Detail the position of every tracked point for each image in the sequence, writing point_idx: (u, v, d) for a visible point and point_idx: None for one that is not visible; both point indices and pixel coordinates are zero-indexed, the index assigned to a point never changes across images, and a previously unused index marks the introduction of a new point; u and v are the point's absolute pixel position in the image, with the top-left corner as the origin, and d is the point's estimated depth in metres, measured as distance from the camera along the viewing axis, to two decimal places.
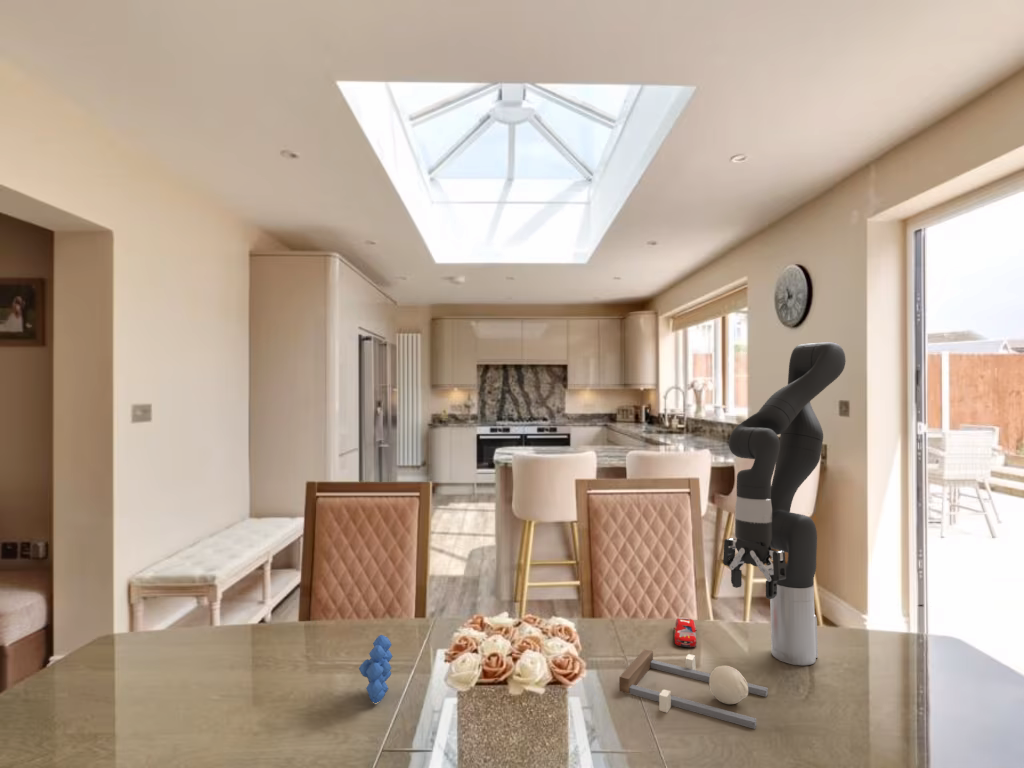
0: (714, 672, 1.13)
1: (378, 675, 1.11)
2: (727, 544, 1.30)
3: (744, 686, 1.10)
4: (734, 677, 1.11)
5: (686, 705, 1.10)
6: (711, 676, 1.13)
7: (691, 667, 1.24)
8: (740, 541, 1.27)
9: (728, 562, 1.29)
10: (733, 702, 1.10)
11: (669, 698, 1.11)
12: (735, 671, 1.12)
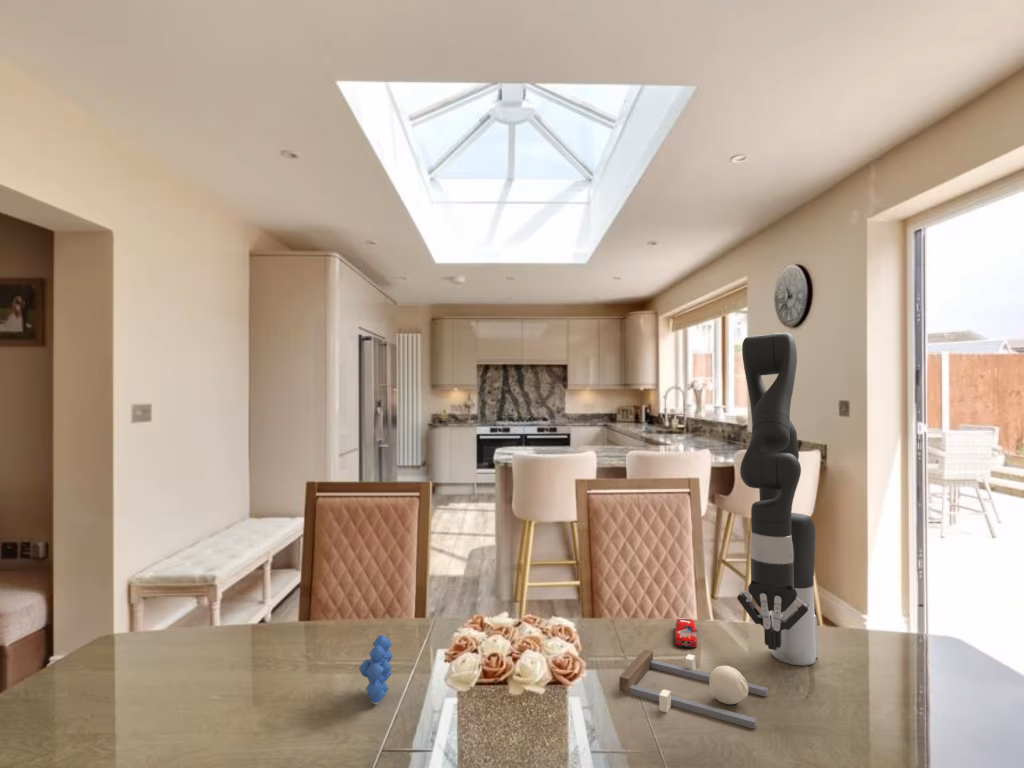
0: (714, 672, 1.13)
1: (378, 675, 1.11)
2: (743, 599, 1.10)
3: (744, 686, 1.10)
4: (734, 677, 1.11)
5: (686, 705, 1.10)
6: (711, 676, 1.13)
7: (691, 667, 1.24)
8: (757, 585, 1.09)
9: (759, 618, 1.09)
10: (733, 702, 1.10)
11: (669, 698, 1.11)
12: (735, 671, 1.12)
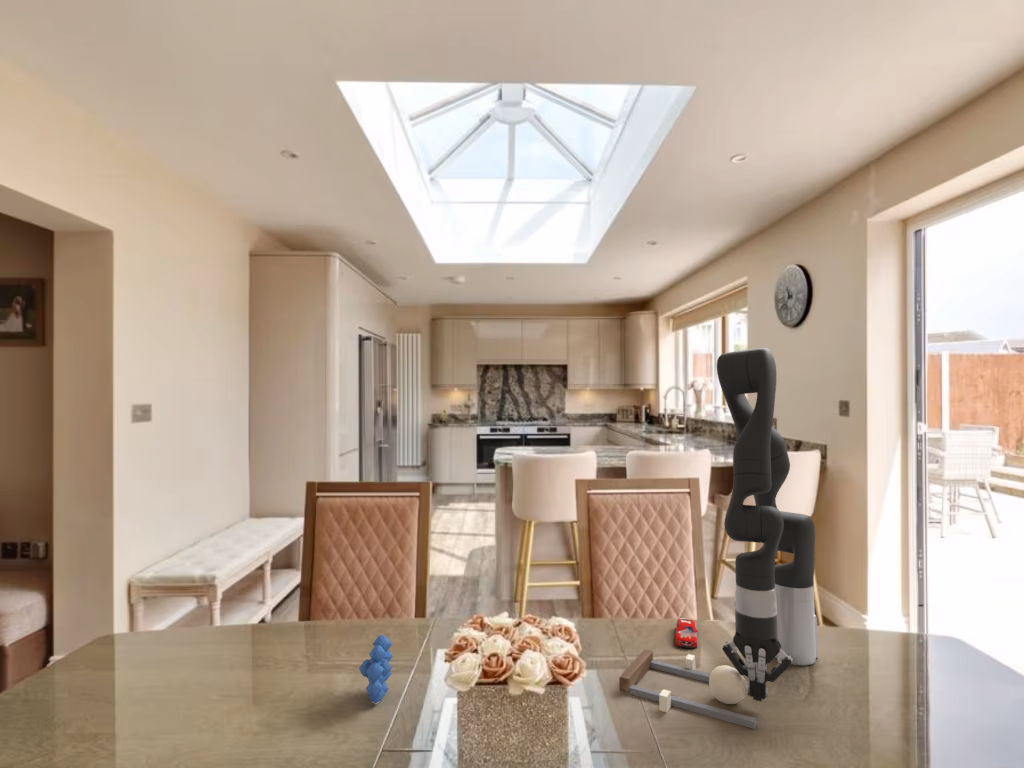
0: (714, 672, 1.13)
1: (378, 675, 1.11)
2: (728, 651, 1.12)
3: (744, 686, 1.10)
4: (734, 677, 1.11)
5: (686, 705, 1.10)
6: (711, 676, 1.13)
7: (691, 667, 1.24)
8: (741, 637, 1.11)
9: (744, 669, 1.10)
10: (733, 702, 1.10)
11: (669, 698, 1.11)
12: (735, 671, 1.12)
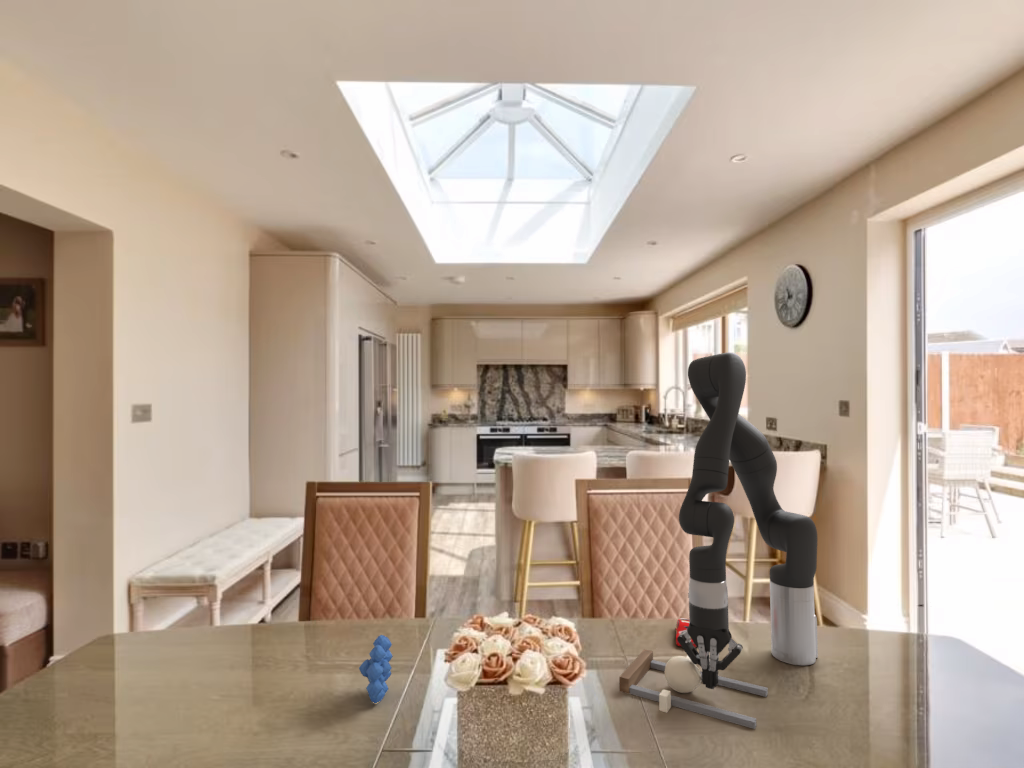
0: (669, 663, 1.17)
1: (378, 675, 1.11)
2: (682, 641, 1.16)
3: (698, 675, 1.15)
4: (688, 667, 1.15)
5: (686, 705, 1.10)
6: (666, 667, 1.17)
7: None
8: (694, 627, 1.15)
9: (697, 658, 1.15)
10: (687, 691, 1.15)
11: (669, 698, 1.11)
12: (689, 661, 1.17)
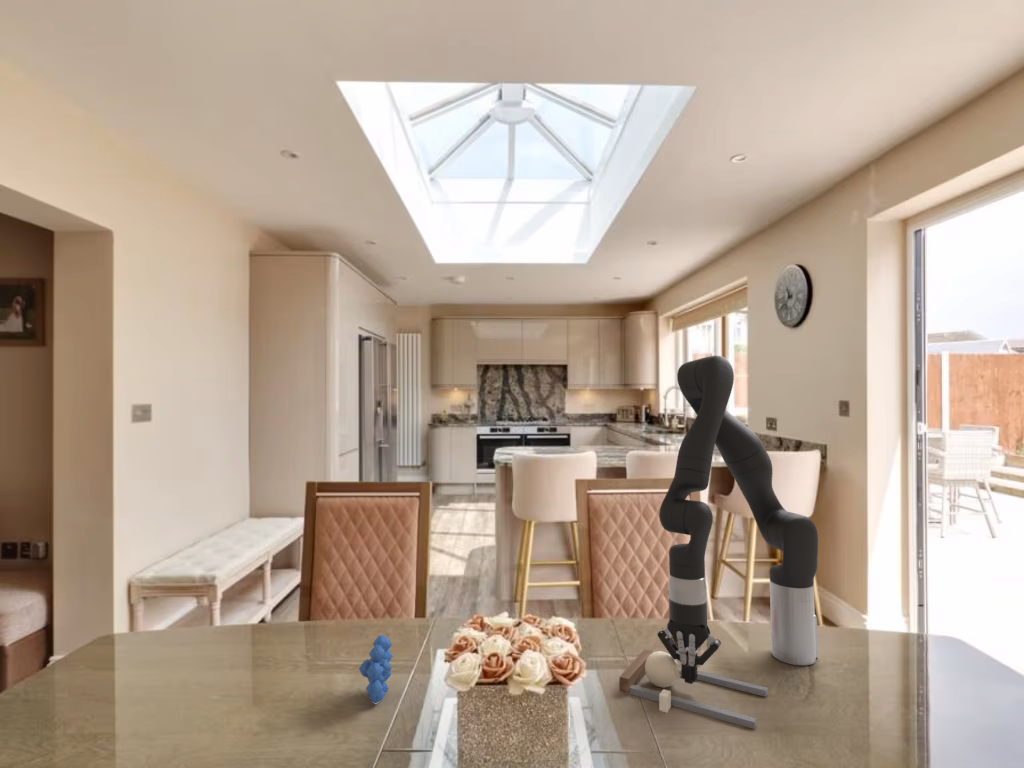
0: (649, 658, 1.19)
1: (378, 675, 1.11)
2: (663, 636, 1.19)
3: (677, 669, 1.17)
4: (668, 662, 1.17)
5: (686, 705, 1.10)
6: (647, 662, 1.19)
7: None
8: (674, 623, 1.18)
9: (676, 653, 1.17)
10: (667, 685, 1.17)
11: (669, 698, 1.11)
12: (669, 656, 1.19)
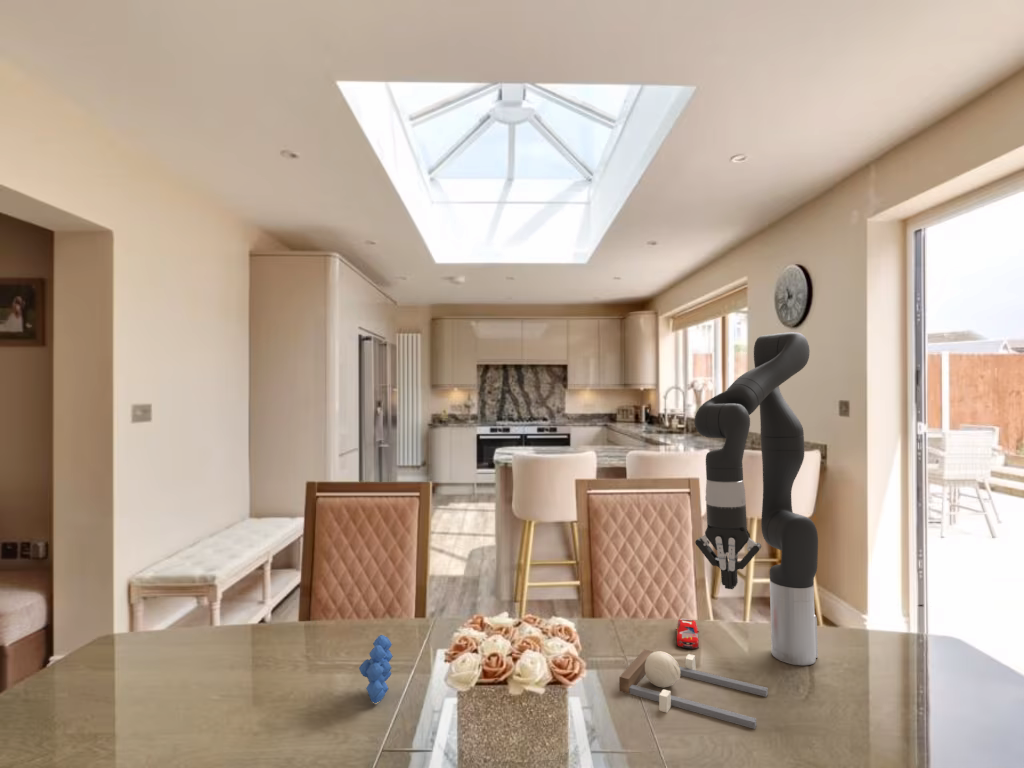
0: (649, 658, 1.19)
1: (378, 675, 1.11)
2: (701, 544, 1.17)
3: (677, 669, 1.17)
4: (667, 662, 1.18)
5: (686, 705, 1.10)
6: (647, 662, 1.20)
7: (691, 667, 1.24)
8: (712, 529, 1.15)
9: (716, 560, 1.15)
10: (667, 685, 1.17)
11: (669, 698, 1.11)
12: (668, 656, 1.19)
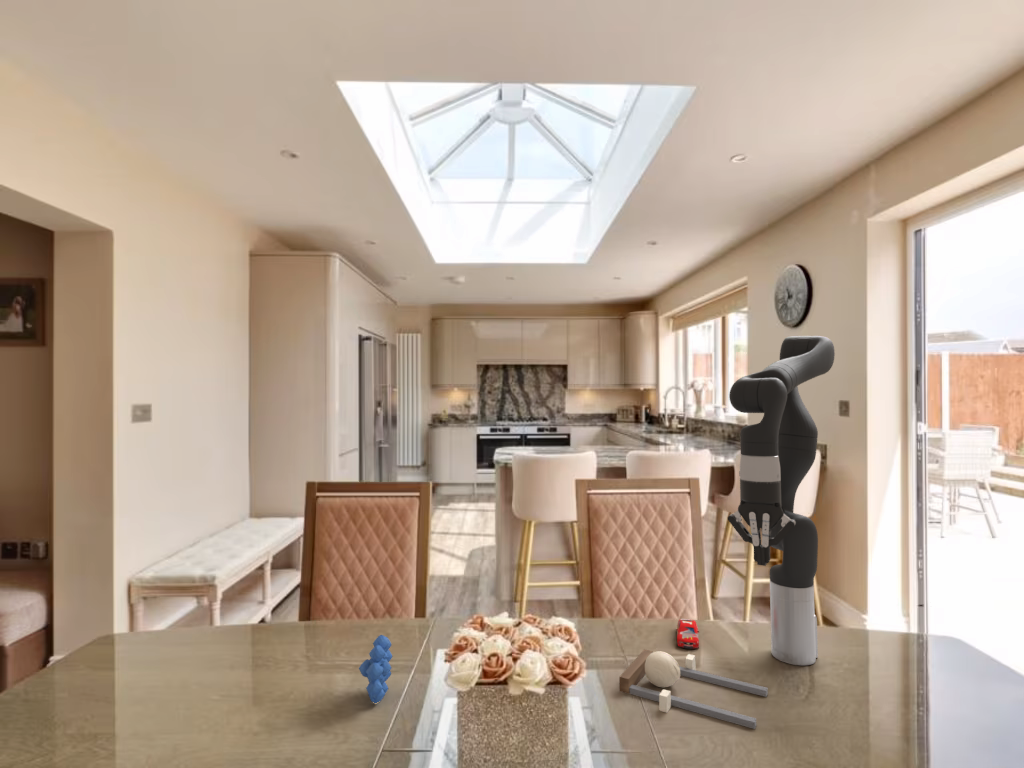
0: (649, 658, 1.19)
1: (378, 675, 1.11)
2: (733, 520, 1.15)
3: (677, 669, 1.17)
4: (667, 662, 1.18)
5: (686, 705, 1.10)
6: (646, 662, 1.20)
7: (691, 667, 1.24)
8: (746, 505, 1.14)
9: (748, 536, 1.14)
10: (667, 685, 1.17)
11: (669, 698, 1.11)
12: (668, 656, 1.19)
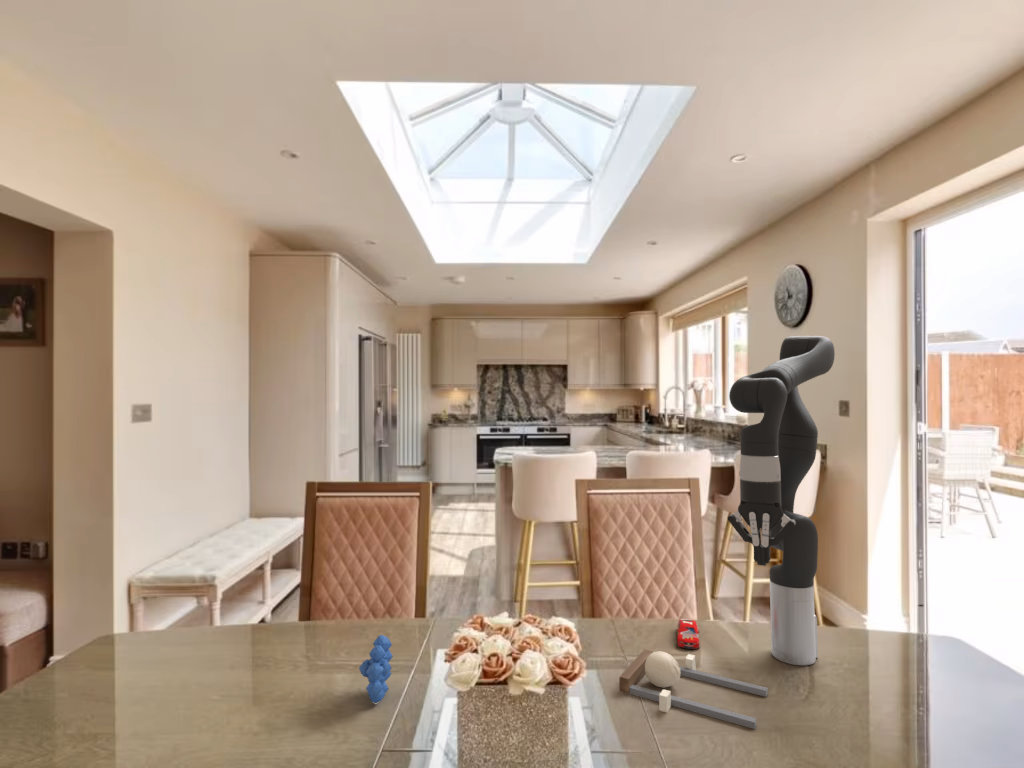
0: (649, 658, 1.19)
1: (378, 675, 1.11)
2: (733, 520, 1.15)
3: (677, 669, 1.17)
4: (667, 662, 1.18)
5: (686, 705, 1.10)
6: (647, 662, 1.19)
7: (691, 667, 1.24)
8: (746, 505, 1.14)
9: (748, 536, 1.14)
10: (667, 685, 1.17)
11: (669, 698, 1.11)
12: (668, 656, 1.19)
